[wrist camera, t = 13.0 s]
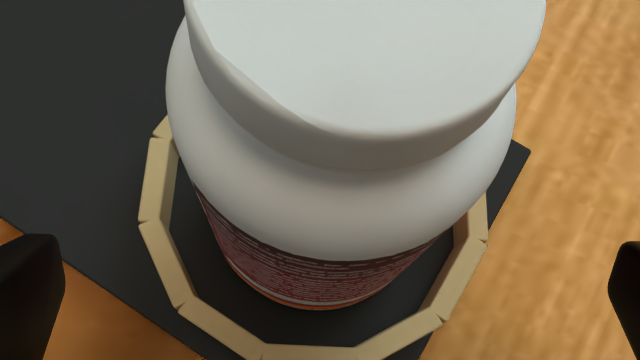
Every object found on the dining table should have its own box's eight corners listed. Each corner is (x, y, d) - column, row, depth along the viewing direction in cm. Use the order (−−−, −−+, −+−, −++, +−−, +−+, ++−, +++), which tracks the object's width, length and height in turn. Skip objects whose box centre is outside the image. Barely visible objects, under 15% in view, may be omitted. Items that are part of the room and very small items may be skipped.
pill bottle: (453, 248, 17) (715, 62, 7) (275, 354, 16) (271, 317, 6) (349, 87, 19) (437, -261, 9) (179, 171, 18) (35, -121, 7)
